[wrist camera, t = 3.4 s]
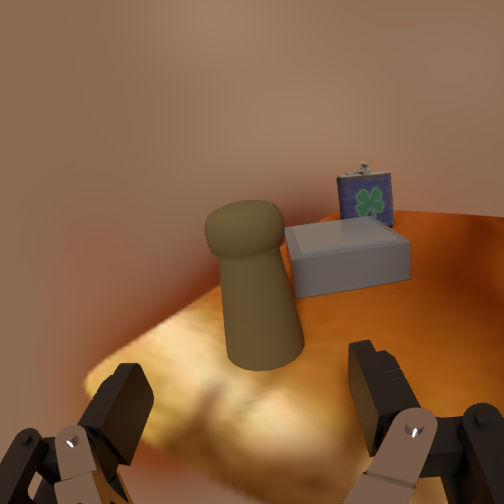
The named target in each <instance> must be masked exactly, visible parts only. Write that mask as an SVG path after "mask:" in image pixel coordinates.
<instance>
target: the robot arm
mask: <svg viewBox="0 0 504 504" xmlns="http://www.w3.org/2000/svg"><path fill="white" fill-rule="evenodd" d="M348 380H349V387H350V391H351V394H352V397H353V400H354V404H355V407H356V410H357V414H358V417H359V421H360V424H361V427H362V431H363V434H364V438H365V442H366V445H367V449H368V452H369V456H370V457H373V456H375V457H374V459H373V461H372V463H371V464H370V466H369V468H368V469H367V471H366V472H363V473H362V475H361V476H360V477H359V479H358V480H357V482H356V483H355V485H354V486H353V488H352V489H351V491H350V493H349V494H348V496H347V497H346V498H345V500H344V501H343V503H342V504H408V502H409V500H410V498H411V496H412V493H413V491H414V489H415V484H416V482H417V480H418V478H424V477H438V476H440V477H441V480H442V484H443V487H444V490H445V494H446V497H447V501H448V504H504V419H503V417H502V415H501V414H500V412H499V411H498V409H497V408H496V407H494V406H492V405H490V404H487V403H477V404H474V405H472V406H470V407H469V408H468V409H467V410H466V411H465V413H464V415H463V416H459V417H446V418H440V417H435V416H434V415H433V414H432V413H431V412H430V411H428V410H426V409H423V408H421V407H420V405H419V403H418V401H417V399H416V397H415V395H414V393H413V391H412V389H411V387H410V385H409V383H408V381H407V380H406V378H405V377H404V374H403V372H402V370H401V369H400V366H399V364H398V363H397V361H396V359H395V357H393V356H392V355H391V354H389V353H388V352H387V351H385V350H383V351H378V352H376V351H375V349H374V347H373V345H372V343H371V341H370V340H364V341H359V342H354V343H350V344H349V357H348ZM153 403H154V395H153V391H152V389H151V387H150V385H149V383H148V381H147V378H146V376H145V374H144V372H143V370H142V368H141V366H140V365H139V364H138V363H121V364H119V365H118V367H117V369H116V370H115V372H114V374H113V375H110V376H109V377H108V378H107V379H106V380H104V381H103V382H102V384H101V385H100V387H99V388H98V390H97V393H96V394H95V395H94V397H93V400H91V402H90V404H89V405H88V407H87V409H86V411H85V412H84V414H83V416H82V417H81V419H80V421H79V423H78V424H77V425H70V426H67V427H65V428H63V429H62V430H61V431H60V432H59V433H58V434H57V436H56V437H48V438H42V436H41V435H40V434H39V432H38V431H37V430H35V429H33V428H28V429H24V430H22V431H21V432H20V433H18V434H17V436H16V437H15V439H14V440H13V442H12V444H11V446H10V448H9V449H8V451H7V453H6V454H5V456H4V458H3V460H2V461H1V463H0V504H133V501H132V499H131V497H130V495H129V493H128V491H127V488H126V486H125V484H124V482H123V479H122V477H121V475H120V472H119V471H118V470H117V467H118V464H122V465H128V466H130V465H131V462H132V459H133V457H134V454H135V451H136V448H137V446H138V443H139V440H140V438H141V435H142V433H143V430H144V427H145V425H146V422H147V419H148V417H149V414H150V412H151V409H152V406H153ZM36 471H37V472H38V473H39V474H40V475H41V476H42V477H43V478H42V481H41V483H40V485H39V487H38V490H37V492H36V494H35V497H34V499H33V500H32V499H30V497H29V495H28V487H29V485H30V483H31V480H32V478H33V476H34V474H35V472H36Z"/></svg>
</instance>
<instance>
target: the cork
mask: <svg viewBox="0 0 504 504" xmlns="http://www.w3.org/2000/svg"><path fill="white" fill-rule="evenodd" d="M284 233H285V226H284V218H283V216H282V214H281V211H280V210H279V209H278V207H277V206H276V205H275V204H273V203H271V202H268V201H262V200H246V201H239V202H234V203H231V204H228V205H225V206H223V207H220V208H218V209H216V210H214V211H213V212H212V213H211V214H210V215H209V216H208V217H207V220H206V223H205V235H206V240H207V244H208V246H209V248H210V250H211V252H212V253H213V254H214V255H215V256H216V257H217V258H218V259H219V268H220V279H221V293H222V304H223V316H224V327H225V337H226V348H227V354H228V358H229V360H230V361H231V362H232V363H233V364H234V365H236V366H238V367H240V368H243V369H246V370H252V371H265V370H272V369H276V368H279V367H283V366H285V365H286V364H288V363H290V362H292V361H294V360H295V359H296V358H297V357H298V356H299V355H300V354H301V352H302V350H303V348H304V337H303V333H302V329H301V325H300V322H299V318H298V314H297V310H296V307H295V303H294V299H293V296H292V292H291V288H290V285H289V281H288V277H287V274H286V270H285V267H284V263H283V259H282V256H281V252H280V249H279V248H280V246H281V244H282V242H283V240H284Z"/></svg>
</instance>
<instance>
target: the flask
mask: <svg viewBox="0 0 504 504" xmlns="http://www.w3.org/2000/svg"><path fill="white" fill-rule="evenodd" d="M361 165H362V166H361V168H360V169H359V170H358V171H352V172H354V173H356V174H350V173H351V172H349V173H348V172H346V173H345V174H346V175H342V176H338V177H337V185H338V194H339V202H340V214H341V220H342V219H350V218H357V217H365V216H373V217H374V218H376V219H377V220H379V221H380V222H382V223H383V224H385V225H386V226H388V227H389V228H390V227H393V225H394V216H393V201H392V200H393V198H392V187H391V175H390V172H388V171H384V172H374V173H369V171H370V169H369V168H368V164H367V163H361ZM369 165H370V164H369Z"/></svg>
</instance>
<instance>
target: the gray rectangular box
mask: <svg viewBox="0 0 504 504" xmlns="http://www.w3.org/2000/svg"><path fill="white" fill-rule="evenodd" d="M284 235H285V243H286V250H287V257H288V262H289V267H290V271H291V276H292V281H293V286H294V291H295V296H296V298H303V297H310V296H316V295H323V294H329V293H335V292H341V291H347V290H353V289H359V288H365V287H371V286H376V285H382V284H387V283H392V282H398V281H403V280H408V279H409V278H410V241H408V240H407V239H405V238H404V237H402V236H401V235H400V234H398V233H397V232H395V231H394V230H392V229H391V228H389V227H388V226H386V225H385V224H383V223H382V222H380V221H379V220H377V219H376V218H374V217H373V216H365V217H357V218H350V219H342V220H335V221H327V222H320V223H313V224H306V225H299V226H292V227H285V233H284Z"/></svg>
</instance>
